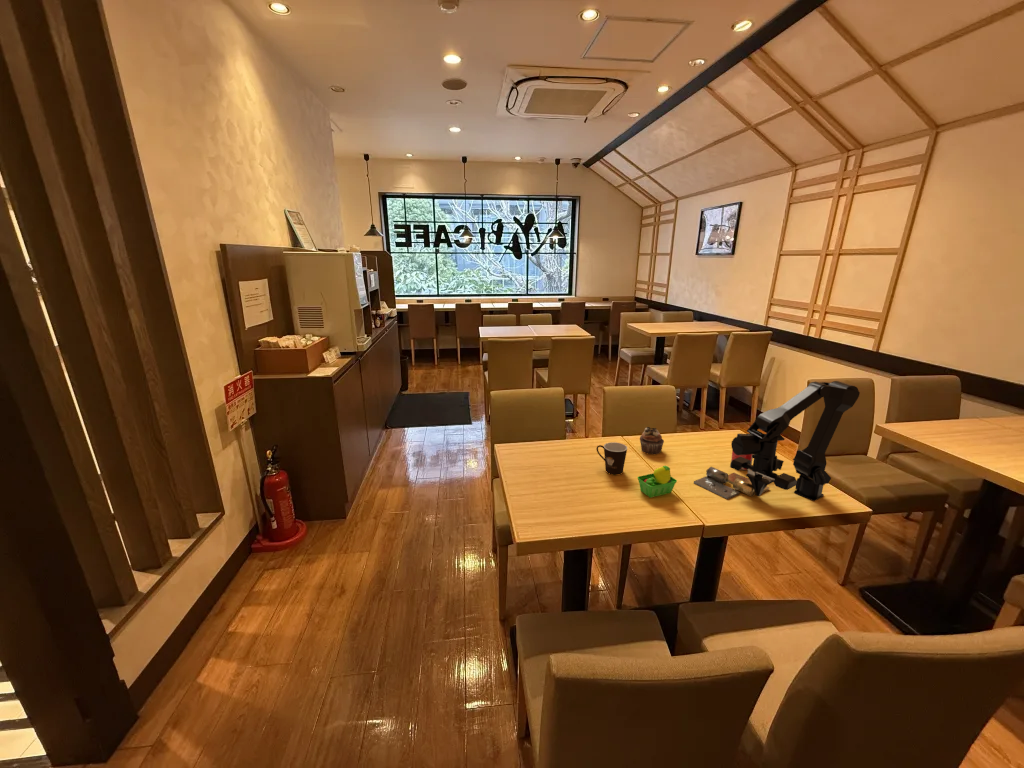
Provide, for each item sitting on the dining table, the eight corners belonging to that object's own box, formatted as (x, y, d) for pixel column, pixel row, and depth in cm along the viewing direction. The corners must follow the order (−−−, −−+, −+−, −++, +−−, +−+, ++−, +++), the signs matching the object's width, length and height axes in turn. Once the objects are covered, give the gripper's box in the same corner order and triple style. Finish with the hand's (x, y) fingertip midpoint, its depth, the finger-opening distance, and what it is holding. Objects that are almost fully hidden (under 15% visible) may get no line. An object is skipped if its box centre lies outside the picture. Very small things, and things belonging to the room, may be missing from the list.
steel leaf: (746, 490, 147) (748, 480, 146) (727, 499, 141) (728, 488, 140) (710, 474, 158) (711, 464, 157) (691, 482, 153) (692, 472, 152)
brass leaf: (769, 489, 147) (770, 479, 146) (750, 498, 142) (752, 487, 141) (733, 474, 158) (735, 464, 157) (715, 482, 152) (716, 472, 151)
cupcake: (664, 456, 174) (666, 433, 171) (639, 454, 176) (641, 431, 173) (661, 446, 183) (663, 425, 180) (638, 444, 185) (639, 423, 182)
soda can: (746, 463, 167) (750, 434, 163) (754, 471, 160) (758, 442, 157) (727, 462, 167) (731, 434, 164) (734, 471, 161) (738, 441, 157)
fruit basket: (661, 483, 152) (664, 454, 149) (679, 495, 144) (682, 465, 141) (635, 489, 148) (637, 460, 145) (651, 502, 140) (654, 471, 137)
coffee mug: (630, 473, 160) (632, 449, 157) (611, 478, 157) (612, 453, 154) (612, 461, 170) (613, 438, 167) (594, 465, 167) (595, 441, 164)
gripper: (809, 457, 133) (801, 501, 138) (751, 437, 149) (745, 477, 153) (790, 465, 128) (782, 511, 132) (732, 444, 143) (726, 486, 147)
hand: (758, 495), depth 141 cm, fingers closed
